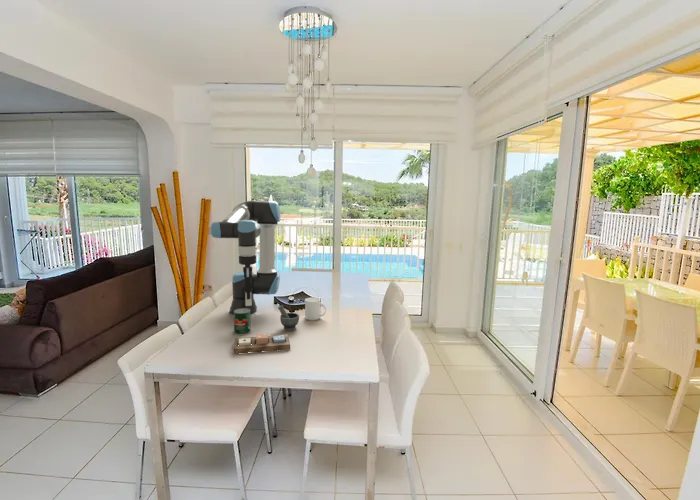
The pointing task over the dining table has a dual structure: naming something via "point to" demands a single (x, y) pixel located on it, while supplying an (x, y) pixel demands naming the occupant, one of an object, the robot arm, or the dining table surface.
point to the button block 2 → (261, 338)
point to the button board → (261, 345)
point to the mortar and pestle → (288, 319)
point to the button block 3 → (278, 339)
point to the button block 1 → (244, 341)
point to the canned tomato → (242, 321)
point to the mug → (313, 308)
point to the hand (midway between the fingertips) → (248, 305)
